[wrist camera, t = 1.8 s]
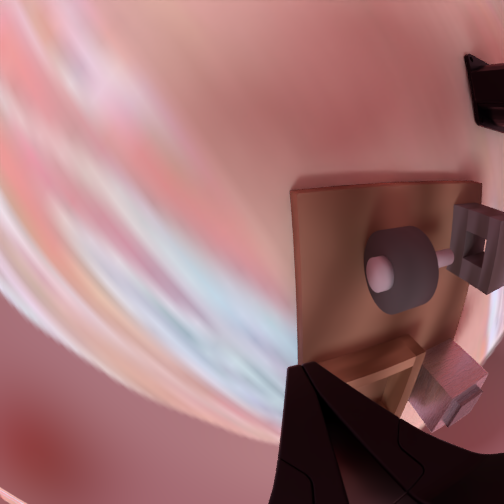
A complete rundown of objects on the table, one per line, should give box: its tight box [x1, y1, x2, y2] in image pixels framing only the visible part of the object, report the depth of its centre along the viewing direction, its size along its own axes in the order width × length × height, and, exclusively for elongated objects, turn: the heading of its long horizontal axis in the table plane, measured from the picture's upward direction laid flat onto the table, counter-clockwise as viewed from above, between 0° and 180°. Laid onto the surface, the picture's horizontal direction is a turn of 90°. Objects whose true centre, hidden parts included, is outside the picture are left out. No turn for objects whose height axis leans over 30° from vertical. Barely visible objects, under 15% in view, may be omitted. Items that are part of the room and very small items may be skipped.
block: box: [408, 338, 488, 433], centre depth 18 cm, size 5×5×7 cm
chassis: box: [290, 181, 504, 418], centre depth 17 cm, size 16×22×6 cm
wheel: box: [364, 226, 454, 315], centre depth 13 cm, size 6×4×4 cm
